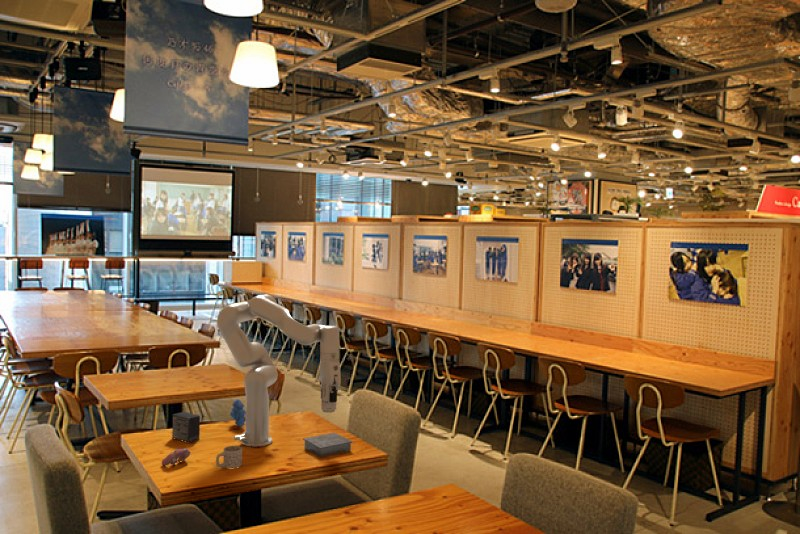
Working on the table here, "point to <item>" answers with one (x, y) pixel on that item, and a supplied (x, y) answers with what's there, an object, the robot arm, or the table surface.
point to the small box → (186, 426)
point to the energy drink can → (327, 397)
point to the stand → (327, 444)
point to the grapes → (238, 413)
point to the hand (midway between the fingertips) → (328, 399)
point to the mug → (230, 457)
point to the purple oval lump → (176, 456)
